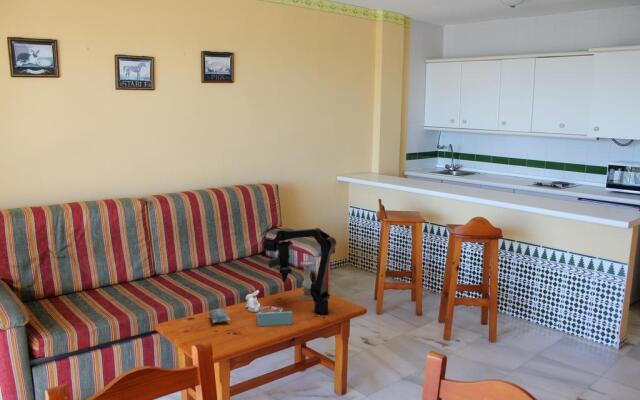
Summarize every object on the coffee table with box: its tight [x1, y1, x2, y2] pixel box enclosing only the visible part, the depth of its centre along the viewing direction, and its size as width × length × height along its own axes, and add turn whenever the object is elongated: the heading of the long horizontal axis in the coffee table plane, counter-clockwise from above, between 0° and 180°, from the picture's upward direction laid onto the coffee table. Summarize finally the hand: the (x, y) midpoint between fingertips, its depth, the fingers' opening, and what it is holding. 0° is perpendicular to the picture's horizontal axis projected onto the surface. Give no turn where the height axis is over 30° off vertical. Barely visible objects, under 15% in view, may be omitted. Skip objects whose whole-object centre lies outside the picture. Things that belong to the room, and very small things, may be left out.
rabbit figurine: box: [244, 289, 261, 313], centre depth 285 cm, size 12×8×10 cm, turn 31°
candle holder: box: [299, 260, 315, 301], centre depth 302 cm, size 9×9×20 cm
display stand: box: [256, 310, 293, 327], centre depth 268 cm, size 16×10×6 cm, turn 100°
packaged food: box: [208, 308, 231, 324], centre depth 268 cm, size 9×12×5 cm
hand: (283, 282), depth 289 cm, fingers closed
